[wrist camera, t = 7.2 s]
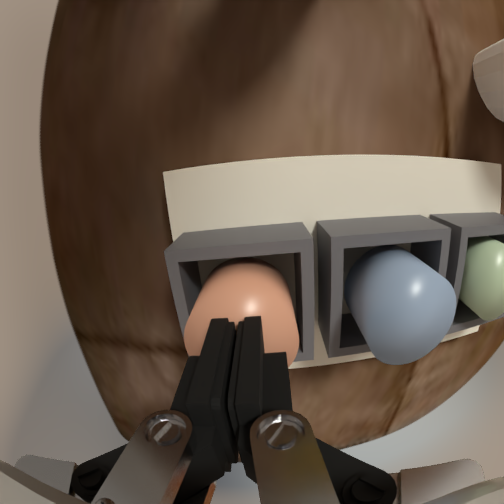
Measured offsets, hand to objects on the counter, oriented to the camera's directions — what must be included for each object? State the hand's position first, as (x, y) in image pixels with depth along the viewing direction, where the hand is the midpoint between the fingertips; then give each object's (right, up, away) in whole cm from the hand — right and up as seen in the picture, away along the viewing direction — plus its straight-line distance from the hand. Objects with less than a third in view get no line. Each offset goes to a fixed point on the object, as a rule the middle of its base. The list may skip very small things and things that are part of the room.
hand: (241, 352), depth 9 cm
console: (+7, +3, +6) cm, 9 cm away
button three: (+13, +3, +4) cm, 14 cm away
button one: (0, +1, +3) cm, 4 cm away
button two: (+6, +2, +3) cm, 7 cm away
